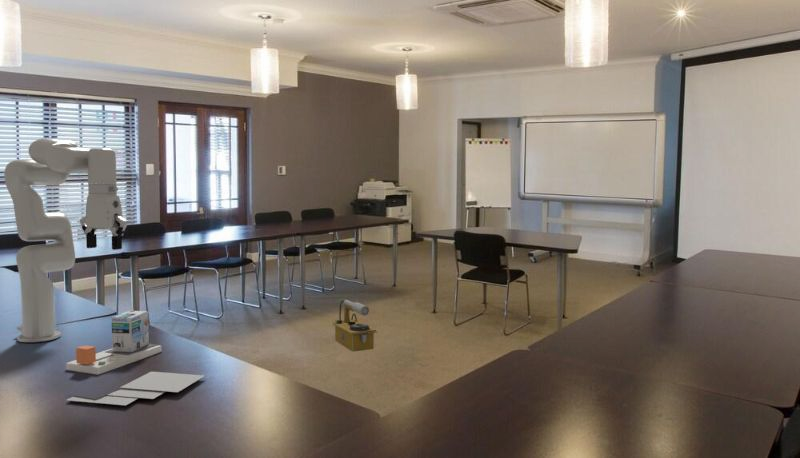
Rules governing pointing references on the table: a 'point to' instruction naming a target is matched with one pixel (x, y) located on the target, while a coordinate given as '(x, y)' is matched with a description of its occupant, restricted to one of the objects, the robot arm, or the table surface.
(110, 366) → the panel
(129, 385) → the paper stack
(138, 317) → the light bulb box
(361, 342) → the geiger counter
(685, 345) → the table surface
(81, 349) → the handle
